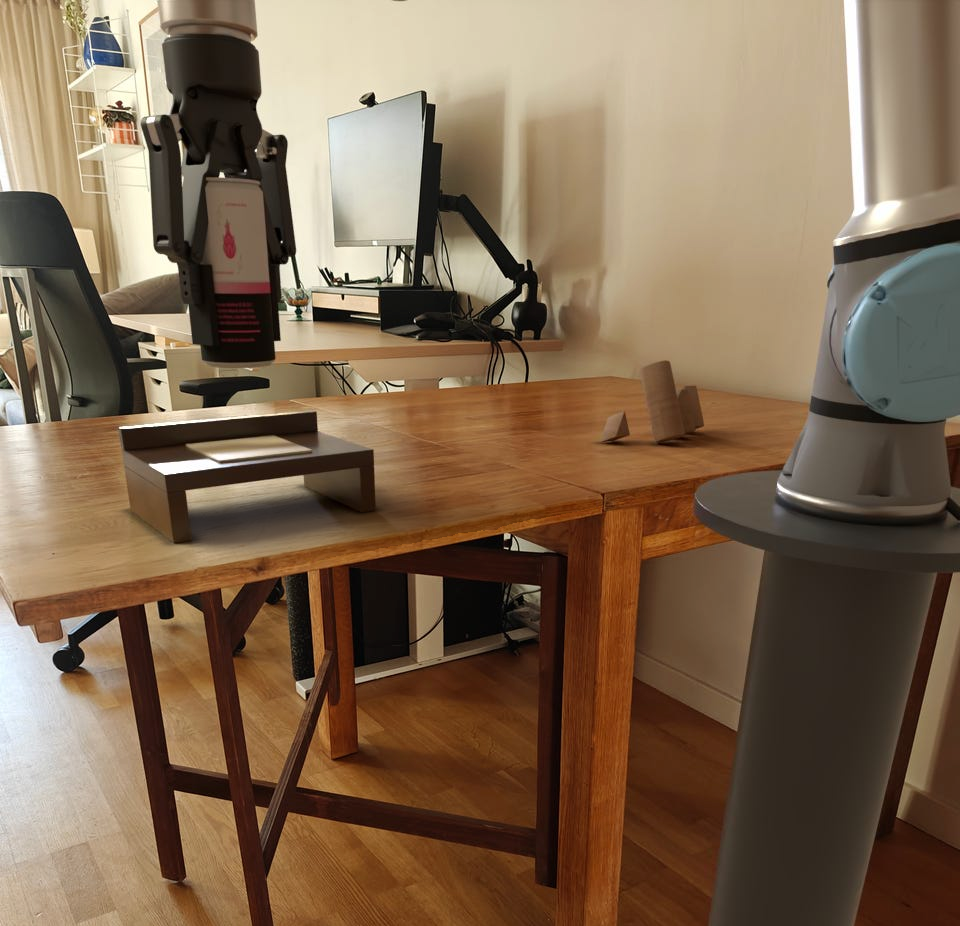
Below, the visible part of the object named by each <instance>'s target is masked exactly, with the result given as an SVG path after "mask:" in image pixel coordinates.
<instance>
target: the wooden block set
mask: <svg viewBox="0 0 960 926" xmlns="http://www.w3.org/2000/svg"><path fill="white" fill-rule="evenodd" d="M671 364H672V363H671V362H670V361H669V360H659V361H655V362H652V363H649V364H647V365H644V366H643V367H641V368H640V370H639V373H640V379H641V384H642V389H643V392H644V397H645V403H646V407H647V412H648V417H649V421H650V427H651V431H652V437H653V441H654V443H656V444H660V443H666V442H670V441H673V440H676V439H679V438H682V437H684V436H686V435H689V434H692V433H695V432H696V431H697V430H699V429H700V428H703V427H705V422H704V417H703V412H702V407H701V401H700V397H699V392H698V387H697V385H695V384H693V385H692V384H691V385H683V386H680V387H677V388H676V384H675V380H674V375H673V369H672V366H671ZM630 435H631V433H630V428H629V424H628V418H627V414H626V411H625V410H623V411H621V412H618V413H616V414H612V415H610V416H608V418H607V419H606V423H605V426H604V429H603V431H602V435H601V436H600V439H599V443H608V442H616V441H618V440H620V439H623V438H627V437H629V436H630Z"/></svg>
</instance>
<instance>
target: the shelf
mask: <svg viewBox="0 0 960 926" xmlns="http://www.w3.org/2000/svg"><path fill="white" fill-rule="evenodd" d="M117 429H118V436H119V443H120V448H121V456H122V461H123V463H122V464H123V468H124V475H125V481H126V482H125V483H126V488H127V494H128V501H129V509H130V511H131V512H132V513H133V514H134V515H136V516H138V517H139V518H140V519H142V520H143V521H144V522H145V523H147V524H148V525H149V526H150V527H152V528H153V529H155V530H156V531H157V532H159V533H160V534H161V535H163V536H164V537H165V538H167V539H168V540H169V541H170V542H172V543H173V544H175V543H176V544H177V543H183V542H188V541H192V540H193V539H192V529H191V522H190V514H189V506H188V498H187V491H191V490H200V489H207V488H216V487H223V486H231V485H237V484H247V483H254V482H261V481H268V480H276V479H284V478H285V479H286V478H292V477H299V476H303V487H304V488H307V489H310V490H312V491H313V492H316V493H318V494H320V495H322V496H324V497H327V498H329V499H331V500H334V501H335V502H338V503H340V504H341V505H342V504H343V505H345V506H346V507H349V508H351V509H353V510H355V511H358V512H360V513H366V512H373V511H376V510H377V507H376V506H377V505H376V504H377V503H376V502H377V501H376V480H375V479H376V475H375V450H374V448H371V447H367V446H365V445H362V444H357V443H355V442H353V441H349V440H346V439H343V438H340V437H337V436H335V435H331V434H328V433H326V432H322V431H319V425H318V412H317V410H313V409H312V410H303V411H302V410H301V411H291V412H278V413H267V414H256V415H245V416H244V415H243V416H233V417H232V416H231V417H222V418H211V419H200V420H187V421H176V422H175V421H174V422H165V423H153V424H142V425H132V426H131V425H129V426H118V427H117Z"/></svg>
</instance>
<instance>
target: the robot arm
mask: <svg viewBox="0 0 960 926" xmlns="http://www.w3.org/2000/svg"><path fill="white" fill-rule="evenodd" d="M392 1H393V2H406V1H407V0H392ZM156 2H157V11H158V20H159V21H158V22H159V27H160V28H159V29H161V30H162V31H163V33H164V34H166V35H168V36H167V37H166V38H164V40H163V42H162V43H161V48H162V49H161V50H162V51H161V52H162V60H163V65H164V66H163V69H164V77H165V87H166V89H167V90H168V92H169V93H170V94H171V95H172V103H171V107H170V110H169V114H166V113H165V114H156V115H149V116H143V117H141V120H140V128H141V131H142V134H143V137H144V141H145V144H146V148H147V151H148V164H149V165H148V167H149V169H148V170H149V186H150V187H149V188H150V204H151V225H152V226H151V227H152V245H153V249H154V251H155V252H156V253H157V254H158V255H164V256H166V257H167V259H168V261H169V262H170V263H173V264H176V266H177V271H178V272H177V273H178V281H179V289H180V297H181V301H182V302H183V303H182V304H184V305H187V306H188V315H189V316H188V317H189V325H190V332H191V333H190V334H191V341H192V343H191V344H192V345H196V346H197V345H198V346H200V345H206V346H220V341H219V331H218V321H217V311H216V301H215V291H214V281H213V271H212V265H211V264H200V263H201V262H202V260H203V255H204V249H205V242H206V236H207V229H208V222H209V221H208V211H207V201H206V191H205V187H206V185H207V183H208V181H207V180H206V177H218V178H220V175H221V173H222V174H223V177H224V178H238V179H248V180H255V181H259V182H260V185H259V188H260V189H261V190H262V191H263V201H264V214H265V227H266V240H267V253H268V266H269V279H270V292H271V305H272V319H273V332H274V342H281V341H282V338H281V323H280V311H279V303H281V301H282V297H283V295H282V283H281V269H280V268H281V265H282V266H283V265H287V264H288V263H289V258H294V257H295V256H296V254H297V244H296V243H297V242H296V236H295V229H294V228H295V227H294V220H293V212H292V204H291V198H290V197H291V196H290V189H289V181H288V180H289V179H288V173H287V172H288V171H287V157H288V156H287V155H288V148H289V142H288V138H287V137H286V135H284V134H282V133H281V134H273V133H271V132H269V131H267V130H265V129H263V125H262V122H261V120H260V117H259V114H258V110H257V105H258V102H259V99H260V98H261V96H262V92H263V91H262V79H261V78H262V77H261V64H260V53H259V50H258V49H257V47H256V46H255V45H254V44H253V43H252V42H253V41H255V40H256V39H257V38H258V24H257V12H256V0H156ZM843 14H844V33H845V35H844V36H845V53H846V54H845V55H846V74H847V75H846V76H847V77H846V78H847V95H848V97H847V98H848V115H849V116H848V117H849V133H850V134H849V137H850V157H851V177H852V178H851V180H852V200H853V201H852V202H853V211H852V214H851V216H850V218H849V219H848V221H847V222H846V224H844V226H843V228H842V229H841V230H840V232H839V233H838V234H837V235H836V237H835V238H834V239H833V241H832V246H833V247H832V250H833V253H832V254H833V263H832V267H831V270H830V271H829V274H828V277H827V282H826V285H827V286H826V287H827V288H828V292H827V298H826V299H827V300H826V304H825V310H824V316H823V323H822V328H821V335H820V341H819V347H818V354H817V358H816V359H817V360H816V366H815V370H814V376H813V377H814V378H813V383H812V389H811V396H810V402H809V407H808V408H809V410H808V414H807V419H806V422H805V424H804V425H803V428H802V430H801V432H800V434H799V436H798V438H797V440H796V442H795V444H794V446H793V448H792V450H791V451H790V454H789V456H788V458H787V459H786V462H785V464H784V465H781V466H782V467H781V469H780V470H781V473H780V476H779V478H778V482H777V489H776V495H775V498H776V500H777V502H779V503H780V504H781V505H783V506H784V507H786V508H788V509H791V510H793V511H796V512H799V513H802V514H805V515H809V516H813V517H817V518H822V519H827V520H832V521H838V522H844V523H852V524H861V525H872V526H919V525H927V524H932V523H936V522H939V521H942V520H944V519H945V518H946V517H947V515H948V512H949V513H950V514H952V515H953V516H954V517H955V518H956V519H957V520H958V521H959V520H960V506H958V505H957V504H956V503H955V502H954V501H953V500H952V499H951V498H952V494H951V487H952V484H951V476H950V468H949V460H948V450H947V443H946V435H945V429H946V423H947V420H948V419H952V418H955V417H958V416H960V0H843ZM180 141H181V143H182V145H183V152H181V148H180V144H179V143H180Z"/></svg>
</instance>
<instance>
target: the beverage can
mask: <svg viewBox="0 0 960 926" xmlns="http://www.w3.org/2000/svg"><path fill="white" fill-rule="evenodd" d="M206 180H207V181H208V183H207V185H206V187H205V191H206V201H207V211H208V221H209V222H208V229H207V236H206V242H205V249H204V255H203V260H202V262H201V263H200V264H211V265H212V271H213V281H214V291H215V301H216V311H217V321H218V331H219V341H220V346H206V345H199V346H200V355H201V357H200V358H201V361H202V362H203V363H205V364H206V365H207V366H208V367H210V368H220V369H254V368H265V367H271V366H272V363H274V362H275V361H276V347H275V341H274V332H273V319H272V305H271V292H270V279H269V266H268V253H267V240H266V227H265V214H264V201H263V191H262V190H261V189H260V188H259V185H260V182H259V181H255V180H248V179H238V178H225V177H219V178H218V177H206Z"/></svg>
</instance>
